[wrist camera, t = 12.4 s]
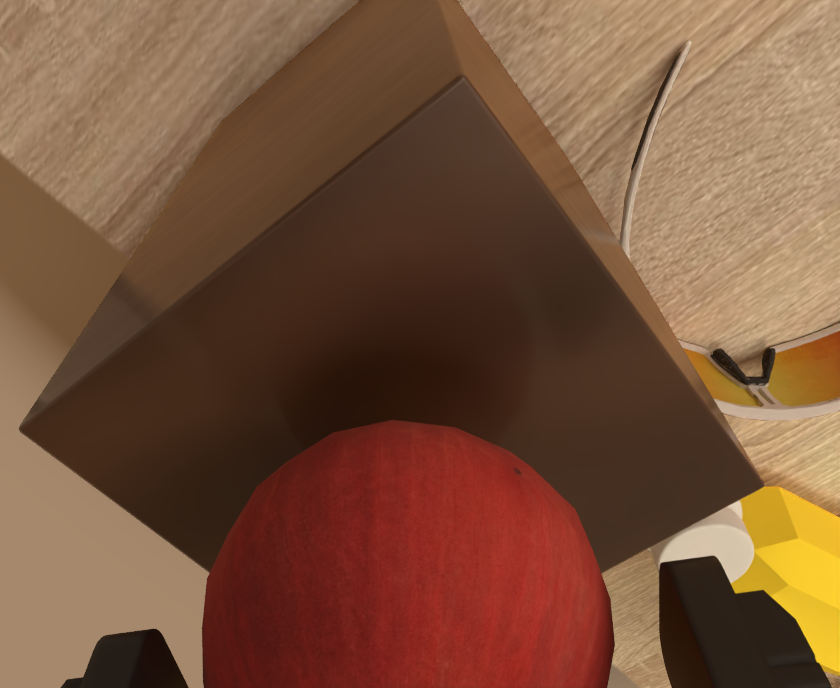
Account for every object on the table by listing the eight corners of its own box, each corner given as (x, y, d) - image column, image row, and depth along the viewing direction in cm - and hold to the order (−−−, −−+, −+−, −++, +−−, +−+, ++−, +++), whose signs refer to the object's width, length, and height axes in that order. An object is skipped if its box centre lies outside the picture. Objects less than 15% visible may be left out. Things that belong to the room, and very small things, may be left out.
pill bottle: (666, 381, 38) (729, 499, 31) (715, 439, 40) (785, 563, 33) (585, 432, 40) (628, 557, 33) (635, 486, 42) (686, 615, 35)
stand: (220, 122, 31) (14, 431, 14) (420, -53, 28) (463, 72, 11) (381, 296, 36) (372, 696, 18) (569, 160, 33) (767, 487, 15)
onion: (391, 609, 17) (392, 1115, 10) (180, 453, 15) (-7, 975, 8) (617, 465, 15) (808, 967, 8) (418, 261, 13) (449, 723, 6)
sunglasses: (585, 375, 38) (611, 426, 33) (616, 37, 32) (654, 42, 27) (876, 371, 38) (942, 421, 34) (959, 38, 32) (1053, 43, 28)
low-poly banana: (722, 445, 41) (632, 543, 44) (776, 541, 35) (668, 644, 38) (964, 559, 46) (866, 639, 49) (1047, 659, 40) (929, 742, 43)
